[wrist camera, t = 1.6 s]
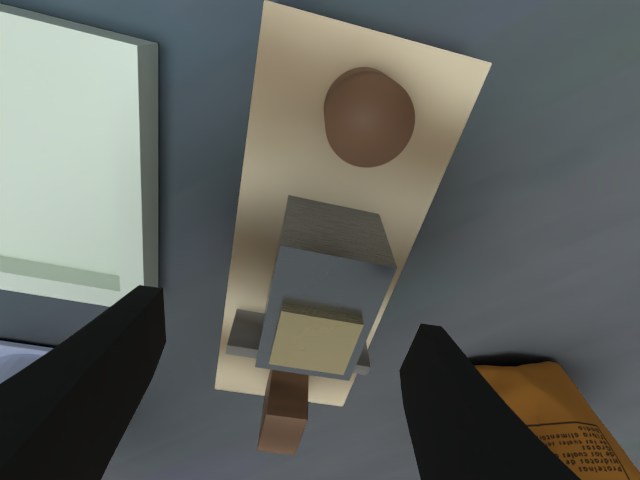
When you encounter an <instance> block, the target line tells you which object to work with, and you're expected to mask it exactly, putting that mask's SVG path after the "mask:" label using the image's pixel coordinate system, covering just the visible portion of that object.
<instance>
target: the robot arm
mask: <svg viewBox="0 0 640 480" xmlns="http://www.w3.org/2000/svg"><path fill="white" fill-rule="evenodd" d="M165 343H166V333H165V316H164V299H163V288H158V287H150V286H143V285H139V286H137V287H136V288H134V289H133V290H132V291H130V292H129V293H128V294H126V295H125V296H124V297H122V298H121V299H120V300H119V301H117V302H116V303H115V304H113V305H112V306H111V307H109V308H108V309H107V310H106V311H104V312H103V313H102V314H100V315H99V316H98V317H96V318H95V319H94V320H92V321H91V322H90V323H88V324H87V325H85V326H84V327H83V328H81V329H80V330H79V331H77V332H76V333H74V334H73V335H72V336H70V337H69V338H68V339H66V340H65V341H63V342H62V343H61V344H59V345H58V346H56V347H55V348H49V347H42V346H35V345H28V344H21V343H14V342H7V341H0V480H101V478H102V476H103V474H104V472H105V470H106V468H107V466H108V463H109V461H110V460H111V458H112V456H113V454H114V452H115V450H116V448H117V446H118V444H119V442H120V440H121V438H122V436H123V434H124V432H125V430H126V429H127V427H128V425H129V423H130V421H131V419H132V417H133V415H134V413H135V411H136V409H137V407H138V405H139V403H140V401H141V399H142V397H143V395H144V394H145V392H146V390H147V388H148V386H149V384H150V382H151V380H152V378H153V375H154V373H155V370H156V367H157V365H158V362H159V360H160V357H161V354H162V351H163V349H164V346H165ZM400 380H401V390H402V398H403V405H404V410H405V415H406V419H407V423H408V427H409V432H410V436H411V440H412V444H413V448H414V453H415V457H416V461H417V465H418V469H419V473H420V478H421V480H581V479H580V478H579V477H578V476H577V475H576V474H575V473H574V472H573V471H572V470H571V469H570V468H569V467H568V466H566V465H565V464H564V463H563V462H562V461H561V460H560V459H559V458H558V457H557V456H556V455H555V454H554V453H553V452H552V451H551V450H550V449H549V448H548V447H547V446H546V445H545V444H544V443H543V442H542V441H541V440H540V439H539V438H538V437H537V436H536V435H535V434H534V433H533V432H532V431H531V430H530V429H529V428H528V426H527V425H526V424H525V423H524V422H523V421H522V420H521V419H520V418H519V417H518V416H517V415H516V414H515V413H514V411H513V410H512V409H511V408H510V407H509V406H508V405H507V404H506V403H505V401H504V400H503V399H502V398H501V397H500V396H499V395H498V393H497V392H496V391H495V390H494V389H493V388H492V386H491V385H490V384H489V383H488V382H487V381H486V379H485V378H484V377H483V376H482V375H481V373H480V372H479V371H478V370H477V369H476V368H475V366H474V365H473V364H472V363H471V361H470V360H469V359H468V358H467V357H466V355H465V354H464V353H463V352H462V350H461V349H460V348H459V347H458V346H457V344H456V343H455V342H454V341H453V340H452V338H451V337H450V336H449V335H448V334H447V332H446V331H445V330H444V329H443V328H442V327H441V326H434V325H427V324H421V325H420V327H419V329H418V331H417V333H416V336H415V338H414V340H413V342H412V344H411V347H410V349H409V351H408V353H407V355H406V357H405V360H404V362H403V364H402V366H401V368H400Z"/></svg>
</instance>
